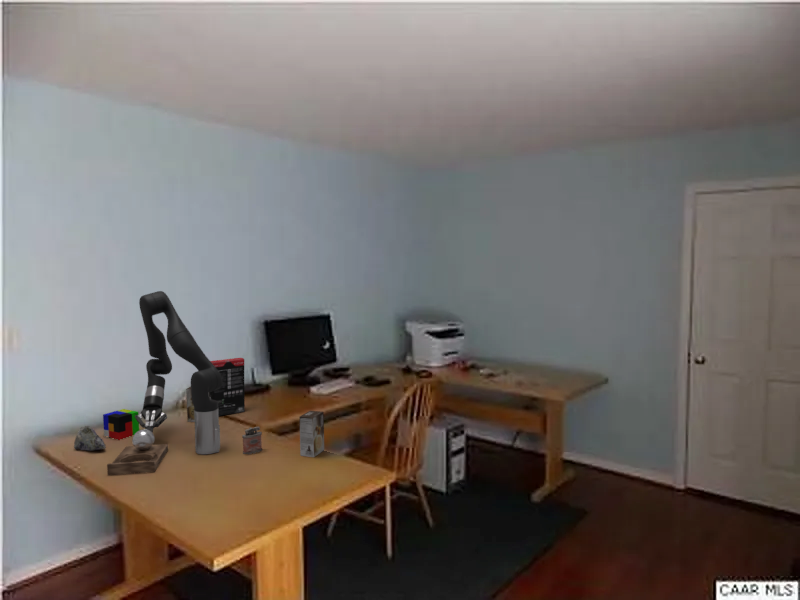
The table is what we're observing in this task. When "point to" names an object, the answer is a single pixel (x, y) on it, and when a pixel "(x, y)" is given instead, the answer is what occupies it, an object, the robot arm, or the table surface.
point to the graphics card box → (230, 386)
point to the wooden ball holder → (131, 454)
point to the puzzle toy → (120, 424)
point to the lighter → (252, 441)
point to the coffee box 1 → (190, 405)
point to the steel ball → (143, 439)
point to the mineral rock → (88, 440)
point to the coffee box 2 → (311, 433)
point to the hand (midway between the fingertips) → (148, 436)
